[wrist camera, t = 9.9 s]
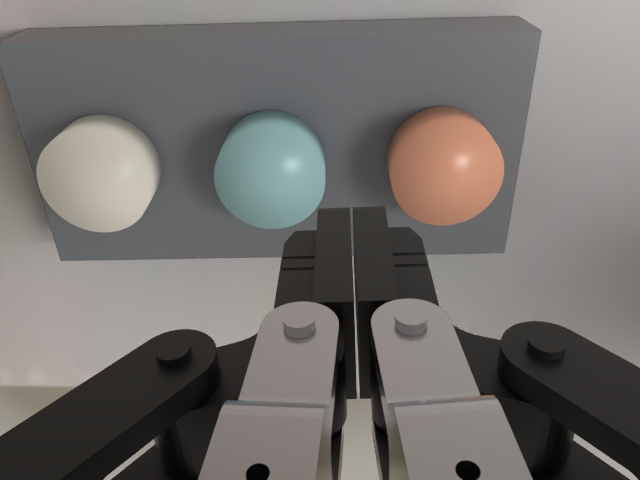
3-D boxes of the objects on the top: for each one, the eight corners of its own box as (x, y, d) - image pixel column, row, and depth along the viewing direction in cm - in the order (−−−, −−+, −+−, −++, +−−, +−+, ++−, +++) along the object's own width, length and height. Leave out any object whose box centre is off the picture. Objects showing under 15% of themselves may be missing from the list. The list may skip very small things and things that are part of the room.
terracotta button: (498, 105, 23) (512, 122, 21) (484, 202, 25) (496, 224, 24) (388, 107, 23) (393, 124, 21) (384, 204, 25) (389, 226, 24)
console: (518, 16, 24) (541, 30, 22) (488, 221, 29) (504, 252, 27) (27, 28, 25) (-7, 44, 22) (83, 229, 30) (60, 260, 27)
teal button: (324, 109, 23) (324, 126, 21) (326, 205, 25) (326, 228, 24) (215, 111, 23) (207, 128, 21) (227, 207, 25) (220, 229, 24)
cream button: (152, 113, 23) (138, 130, 21) (169, 208, 25) (158, 231, 24) (44, 115, 23) (22, 132, 22) (71, 210, 26) (53, 233, 24)
